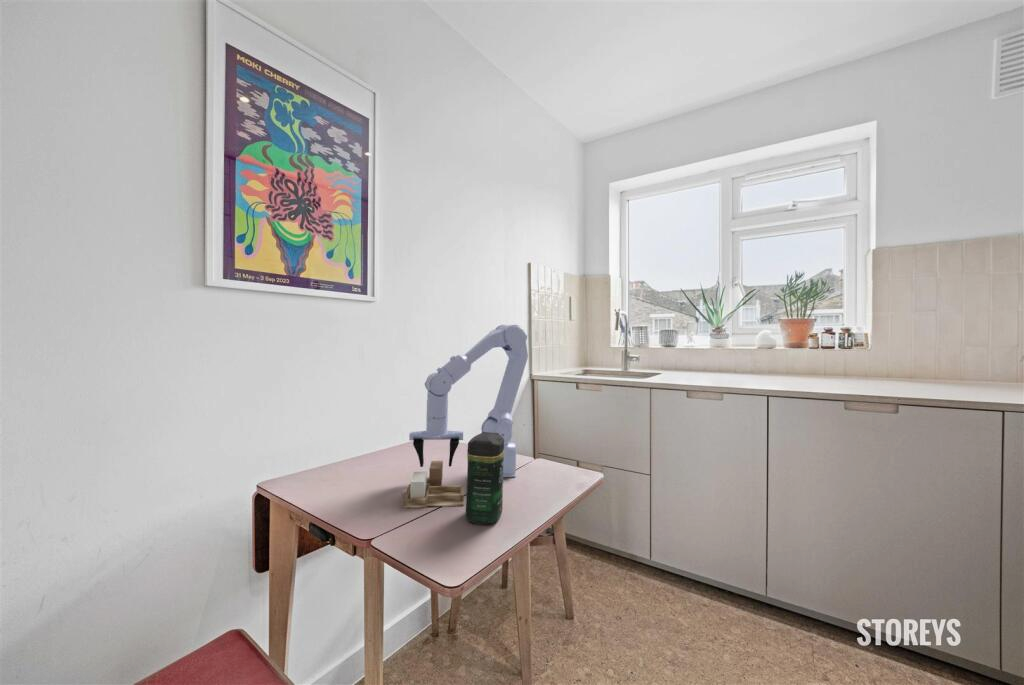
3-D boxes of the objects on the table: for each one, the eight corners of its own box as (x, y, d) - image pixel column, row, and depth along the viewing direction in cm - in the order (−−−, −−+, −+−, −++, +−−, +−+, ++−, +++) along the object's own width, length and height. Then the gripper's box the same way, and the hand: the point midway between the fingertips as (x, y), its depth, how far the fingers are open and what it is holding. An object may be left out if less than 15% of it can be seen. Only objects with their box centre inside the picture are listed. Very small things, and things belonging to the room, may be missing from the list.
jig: (463, 489, 105) (463, 482, 105) (463, 505, 95) (463, 498, 95) (409, 490, 103) (409, 483, 103) (403, 507, 93) (403, 500, 93)
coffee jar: (497, 528, 85) (499, 441, 84) (461, 524, 86) (463, 439, 85) (505, 508, 94) (507, 430, 94) (473, 505, 95) (475, 428, 95)
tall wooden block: (441, 486, 107) (441, 468, 107) (429, 486, 106) (429, 468, 106) (442, 477, 113) (442, 460, 113) (431, 477, 113) (431, 461, 113)
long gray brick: (426, 490, 102) (426, 471, 102) (423, 502, 95) (424, 481, 95) (413, 491, 102) (414, 471, 102) (410, 502, 95) (410, 482, 95)
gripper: (408, 419, 104) (407, 470, 105) (463, 419, 106) (462, 470, 107) (411, 414, 111) (410, 462, 112) (463, 414, 113) (462, 461, 114)
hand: (436, 465), depth 110 cm, fingers open, 7 cm apart
